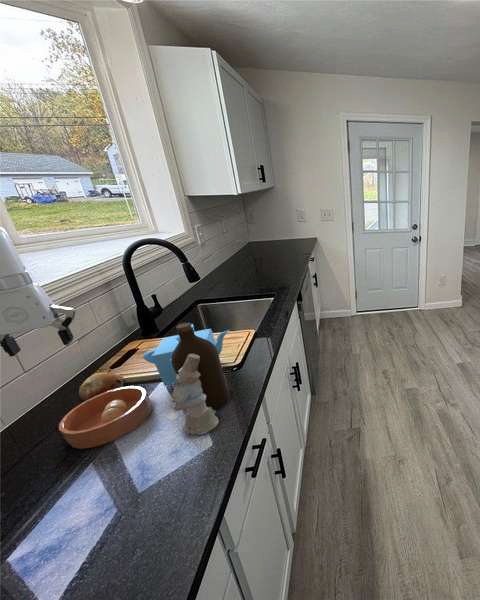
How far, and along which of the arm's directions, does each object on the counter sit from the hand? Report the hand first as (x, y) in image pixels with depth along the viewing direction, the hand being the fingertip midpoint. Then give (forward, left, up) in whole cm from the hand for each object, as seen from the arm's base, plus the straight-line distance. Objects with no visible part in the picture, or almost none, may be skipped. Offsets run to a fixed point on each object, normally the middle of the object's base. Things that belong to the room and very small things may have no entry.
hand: (43, 348), depth 77 cm
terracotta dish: (+7, -5, -23) cm, 25 cm away
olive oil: (+31, -11, -24) cm, 40 cm away
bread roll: (+1, +14, -24) cm, 27 cm away
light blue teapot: (+27, +8, -24) cm, 37 cm away
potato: (+7, -5, -23) cm, 24 cm away
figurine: (+29, -20, -24) cm, 42 cm away
